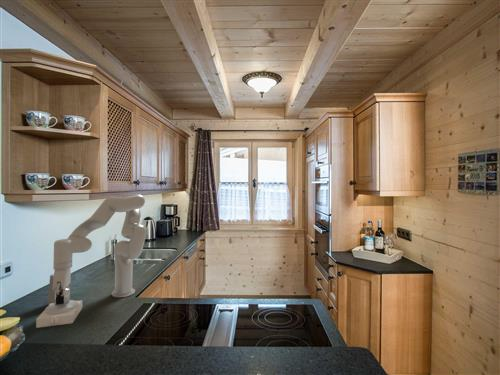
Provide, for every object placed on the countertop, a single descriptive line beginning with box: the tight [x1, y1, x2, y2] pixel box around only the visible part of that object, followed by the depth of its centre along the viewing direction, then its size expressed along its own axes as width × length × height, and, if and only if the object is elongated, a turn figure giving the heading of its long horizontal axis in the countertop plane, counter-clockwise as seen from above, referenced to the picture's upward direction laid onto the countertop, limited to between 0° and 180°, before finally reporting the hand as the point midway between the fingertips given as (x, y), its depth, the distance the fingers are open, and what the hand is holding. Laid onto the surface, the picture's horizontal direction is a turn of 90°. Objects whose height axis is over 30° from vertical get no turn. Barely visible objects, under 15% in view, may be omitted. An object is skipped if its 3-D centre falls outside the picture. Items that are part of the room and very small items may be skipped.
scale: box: [35, 299, 83, 328], centre depth 126 cm, size 17×14×5 cm
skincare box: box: [46, 273, 72, 306], centre depth 140 cm, size 8×7×16 cm
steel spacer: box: [55, 286, 71, 306], centre depth 127 cm, size 6×6×7 cm
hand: (62, 300), depth 127 cm, fingers closed on steel spacer, 6 cm apart
